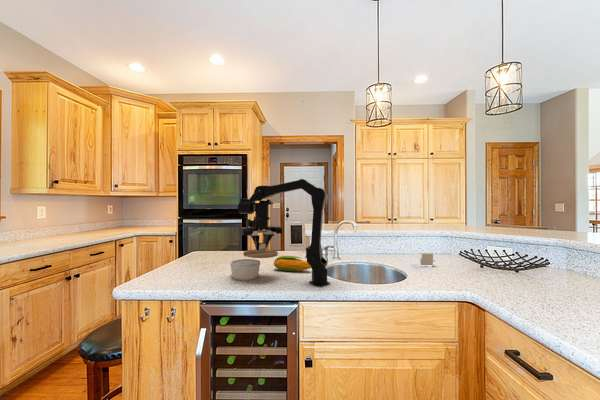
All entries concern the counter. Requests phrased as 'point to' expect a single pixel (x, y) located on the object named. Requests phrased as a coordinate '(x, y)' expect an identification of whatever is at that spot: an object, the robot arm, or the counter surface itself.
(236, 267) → the ramekin
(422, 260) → the architectural model
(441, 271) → the counter surface
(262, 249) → the lid
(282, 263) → the corn
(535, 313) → the counter surface
